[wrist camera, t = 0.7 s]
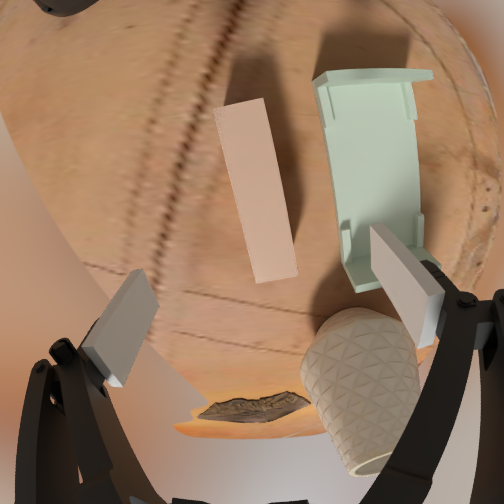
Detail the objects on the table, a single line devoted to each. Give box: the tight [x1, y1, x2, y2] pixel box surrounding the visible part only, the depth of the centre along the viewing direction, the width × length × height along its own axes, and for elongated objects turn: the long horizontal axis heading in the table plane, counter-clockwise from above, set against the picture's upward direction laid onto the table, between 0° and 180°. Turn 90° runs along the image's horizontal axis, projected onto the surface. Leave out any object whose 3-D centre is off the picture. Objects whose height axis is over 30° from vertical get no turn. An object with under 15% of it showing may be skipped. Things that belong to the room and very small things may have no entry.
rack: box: [312, 68, 441, 293], centre depth 27 cm, size 23×12×7 cm, turn 13°
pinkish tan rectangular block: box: [213, 98, 298, 283], centre depth 29 cm, size 18×4×7 cm, turn 12°
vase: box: [300, 307, 421, 477], centre depth 31 cm, size 17×17×23 cm
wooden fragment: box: [198, 392, 311, 423], centre depth 52 cm, size 26×11×1 cm, turn 107°
